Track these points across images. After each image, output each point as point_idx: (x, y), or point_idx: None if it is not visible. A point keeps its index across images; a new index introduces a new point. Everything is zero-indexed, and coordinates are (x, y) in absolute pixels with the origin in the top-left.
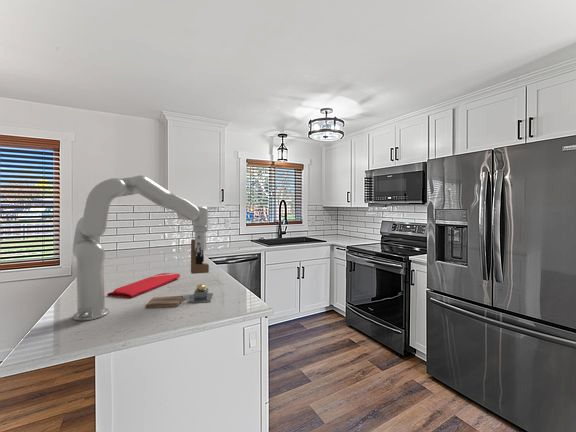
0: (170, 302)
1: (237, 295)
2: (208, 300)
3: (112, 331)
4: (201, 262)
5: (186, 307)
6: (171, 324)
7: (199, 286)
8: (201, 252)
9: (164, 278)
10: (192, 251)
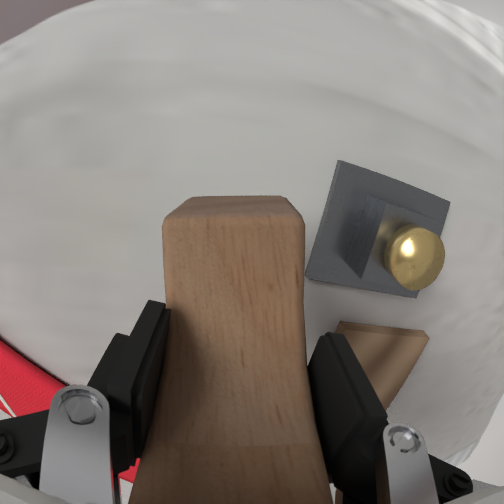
0: (405, 365)
1: (400, 42)
2: (447, 210)
3: (463, 419)
4: (344, 351)
5: (448, 301)
6: None
7: (433, 274)
8: (434, 490)
9: (29, 391)
10: None
